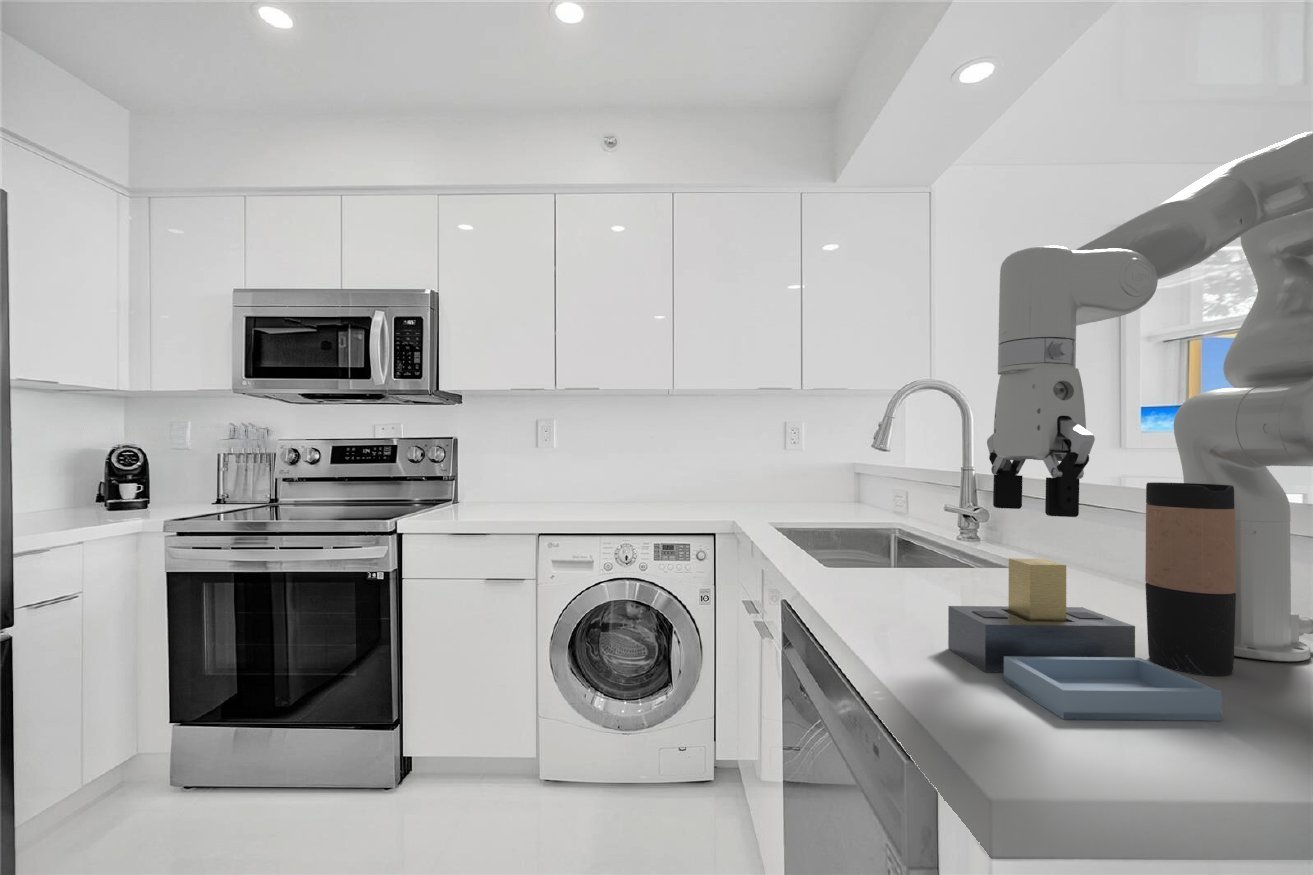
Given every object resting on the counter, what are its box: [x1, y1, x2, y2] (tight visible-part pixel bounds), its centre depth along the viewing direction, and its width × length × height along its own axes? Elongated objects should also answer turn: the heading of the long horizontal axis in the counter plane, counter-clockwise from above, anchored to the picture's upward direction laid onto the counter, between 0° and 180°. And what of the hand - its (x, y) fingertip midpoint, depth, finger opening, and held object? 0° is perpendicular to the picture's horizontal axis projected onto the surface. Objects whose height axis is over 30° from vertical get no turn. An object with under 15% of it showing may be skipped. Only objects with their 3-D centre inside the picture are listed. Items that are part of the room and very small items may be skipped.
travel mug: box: [1144, 481, 1236, 677], centre depth 69 cm, size 8×8×20 cm
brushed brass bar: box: [1008, 557, 1067, 622], centre depth 70 cm, size 4×4×9 cm
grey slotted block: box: [947, 605, 1136, 674], centre depth 70 cm, size 16×8×5 cm, turn 91°
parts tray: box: [1003, 656, 1223, 722], centre depth 59 cm, size 14×9×2 cm, turn 91°
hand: (1032, 511), depth 70 cm, fingers open, 9 cm apart
